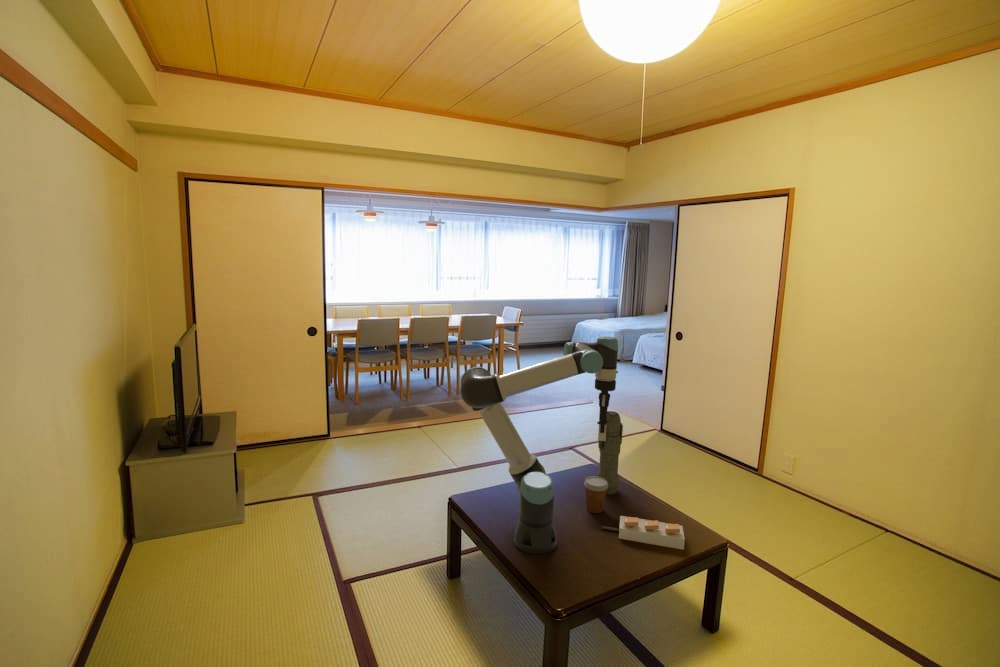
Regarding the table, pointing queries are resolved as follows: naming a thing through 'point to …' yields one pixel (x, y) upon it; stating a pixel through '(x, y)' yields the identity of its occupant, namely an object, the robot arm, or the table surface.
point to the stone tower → (611, 452)
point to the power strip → (650, 534)
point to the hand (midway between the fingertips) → (601, 440)
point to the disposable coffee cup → (595, 493)
